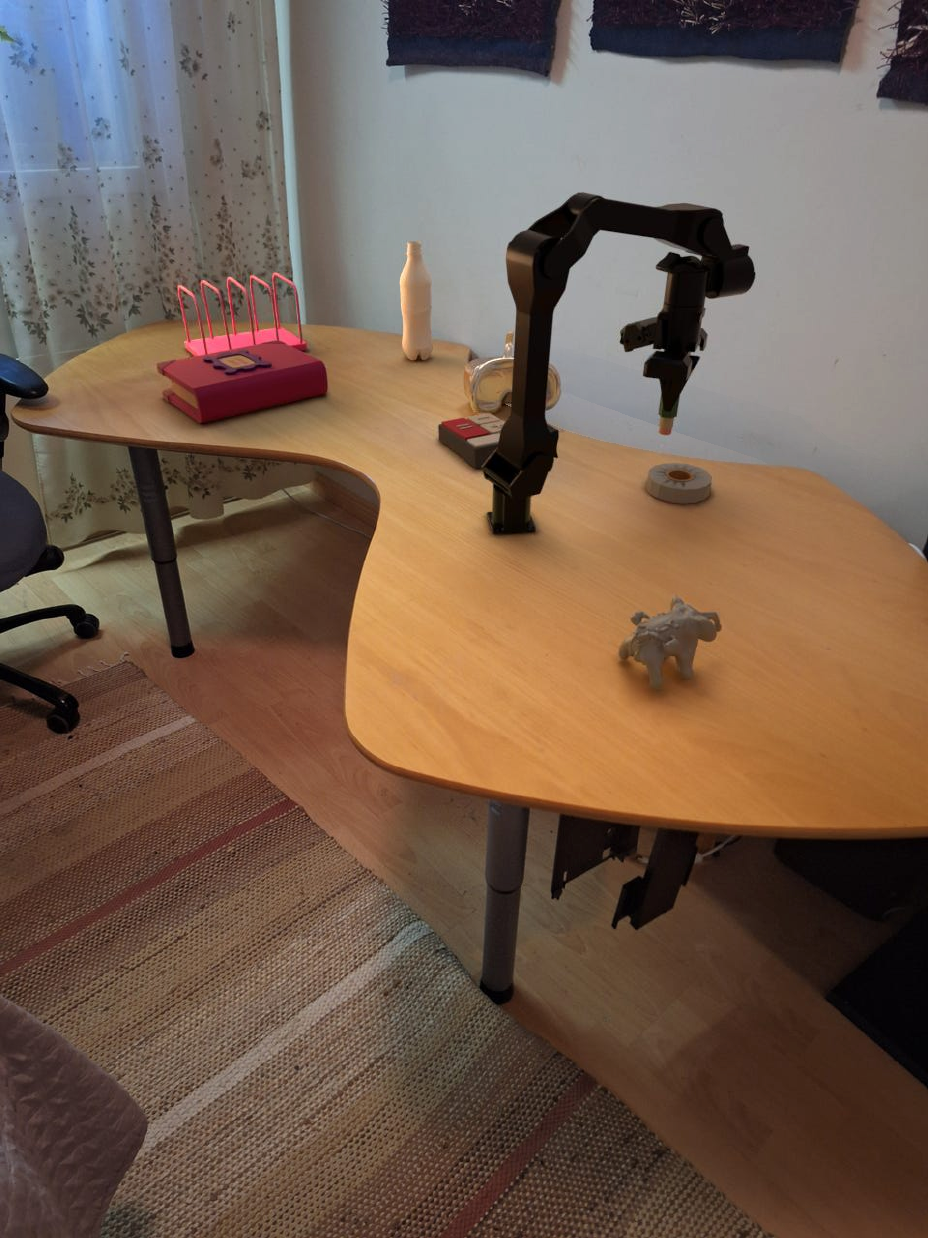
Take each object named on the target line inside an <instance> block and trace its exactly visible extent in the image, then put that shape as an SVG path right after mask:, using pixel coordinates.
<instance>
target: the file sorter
mask: <svg viewBox="0 0 928 1238" xmlns="http://www.w3.org/2000/svg"><path fill="white" fill-rule="evenodd" d="M276 277H278V278H280V279H282V280H283V281H284V282H286V283H288V284H289V285H291V286H292V288H293V292H294V298H295V306H296V307H295V308H296V316H297V327H298V328H297V329H298V335H299V336H296V335H295V334H294V333H292V332H290V331H289V330H287V329H285V328H284V327H281V322H280V321H281V320H280V314H279V313H280V312H279V305H278V296H277V287H276ZM253 280H255V281H256V282H258V283H260V284H261V285H263V286H264V287H266V288H267V289H268V292H269V294H270V295H269V296H270V299H271V305H272V316H273V323H274V327H273V328H267V329H261V330H259V323H258V315H257V307H256V299H255V293H254V284H253ZM231 282H232V283H233V284H235V285H236V286H237V287H238V288H239V289H241V290H242V291H243V292H244V295H245V297H246V302H247V303H246V304H247V309H248V315H249V323H250V330H251V331H247V332H239V333H237V329H236V328H237V326H236V321H235V312H234V305H233V298H232V293H231ZM204 285H205V286H208V287H209V288H210V289H212V290H213V291H214V292H215V293H216V294H217V296H218V299H219V302H220V303H219V304H220V308H221V313H222V317H223V323H224V329H225V334H226V335H219V336H214V331H213V327H212V322H211V317H210V313H209V307H208V302H207V297H206V293H205V288H204V287H205V286H204ZM226 285H227V286H226V287H227V292H228V293H227V294H228V301H229V307H230V315H231V321H232V329H233V334H230V332H229V331H230V330H229V326H228V321H227V316H226V311H225V306H224V299H223V297H222V294H221V292H220V290H219V289H218V288H217V287H215V286H214V285H212V284H211V283H209V282H207V281H206V280H201V281H200V288H201V295H202V299H203V305H204V309H205V315H206V318H207V319H206V320H207V325H208V328H209V334H210V337H206V336H205V332H204V326H203V321H202V316H201V310H200V306H199V302H198V299H197V297H196V295H195V294H194V293H193V292H191V290H188V289H187V287H184V286H183V285H182V284H180V285H177V294H178V300H179V304H180V310H181V314H182V319H183V325H184V329H185V334H186V338H187V340H186V341H184V347H185V349H186V350H187V351H188V352H189V353H191V354H192V355H193V357H195V356H200V355H205V354H210V353H215V352H220V351H226V350H231V349H236V348H241V347H246V346H251V345H256V344H261V343H264V342H269V341H275V340H278V341H282V342H285V343H286V344H287V345H289V346H291V347H293V348H295V349H298V350H300V351H302V352H303V351H307V350H308V345H307V342H306V341H304V340H303V332H302V321H301V311H300V301H299V293H298V289H297V286H296V284H295V283H294V282H293V281H292V280H290V279H289V278H286V276H284V275H282V274H281V273H279V272H274V273H273V274H272V287H271V286H270V284H268V283H267V282H265V281H263V280H262V279H260V278H259V277H258V276H255V275H253V274H252V275H250V277H249V287H250V296H251V300H250V296H249V292H248V290H247V289H246V288H245V287H244V286H243V285H242V284H241V283H239V282H238V281H237V280H235V278H233V277H231V276H228V277H227V279H226ZM181 290H182V291H184V292H185V293H186V294H187V295H189V296H191V297H192V299H193V301H194V304H195V309H196V313H197V319H198V323H199V329H200V334H201V338H197V339H192V340H191V335H190V332H189V327H188V322H187V317H186V312H185V307H184V302H183V298H182V291H181ZM251 303H252V305H251ZM252 309H253V313H252ZM253 316H254V320H253ZM254 324H255V325H254Z"/></svg>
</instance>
